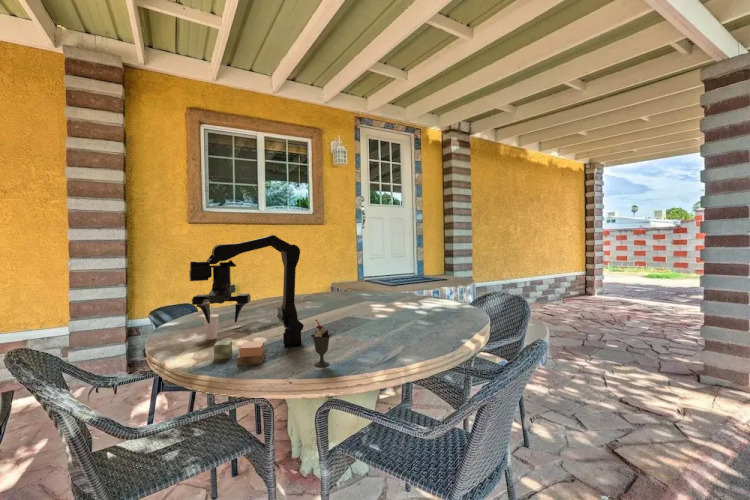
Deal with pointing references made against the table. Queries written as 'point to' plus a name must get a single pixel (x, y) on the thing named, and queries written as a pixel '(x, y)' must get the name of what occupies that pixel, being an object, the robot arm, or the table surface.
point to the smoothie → (211, 325)
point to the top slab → (251, 349)
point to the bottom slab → (251, 359)
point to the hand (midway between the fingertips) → (222, 322)
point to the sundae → (321, 344)
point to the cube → (222, 349)
